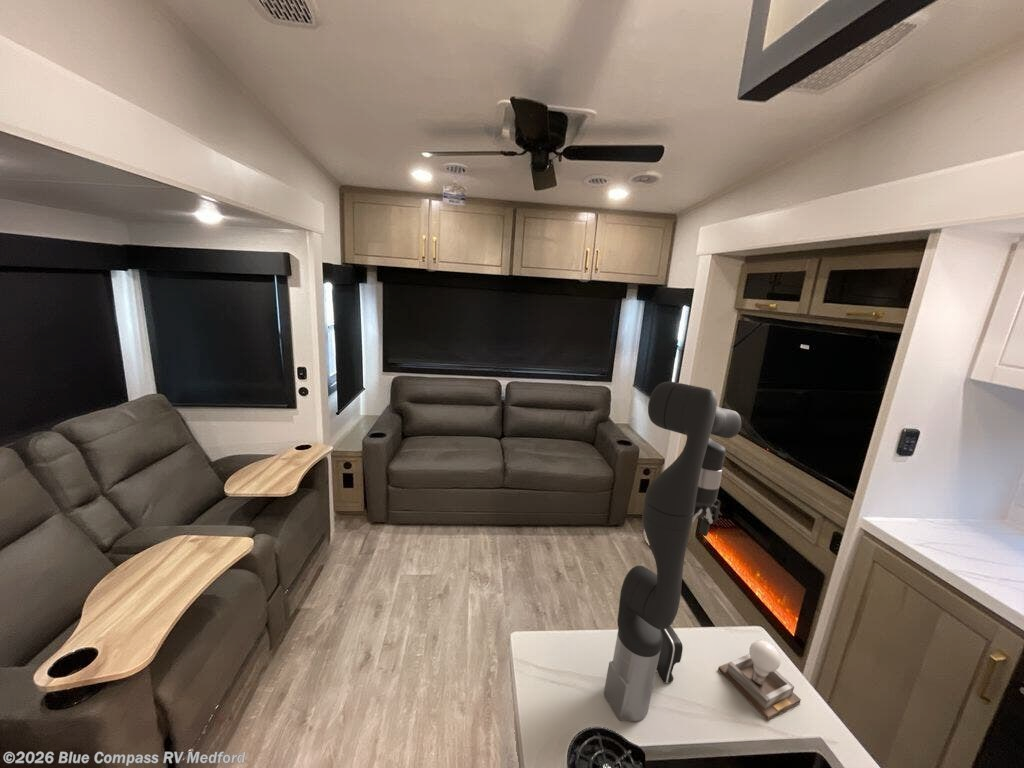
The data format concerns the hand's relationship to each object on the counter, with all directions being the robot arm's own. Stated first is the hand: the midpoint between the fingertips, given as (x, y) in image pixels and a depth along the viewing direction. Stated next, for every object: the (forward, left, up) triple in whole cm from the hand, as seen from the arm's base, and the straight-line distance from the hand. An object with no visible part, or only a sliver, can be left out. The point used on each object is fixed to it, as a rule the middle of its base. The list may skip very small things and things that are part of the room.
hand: (691, 536), depth 105 cm
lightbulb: (+8, -20, -29) cm, 36 cm away
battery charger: (-12, -9, -30) cm, 34 cm away
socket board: (+8, -20, -30) cm, 37 cm away
